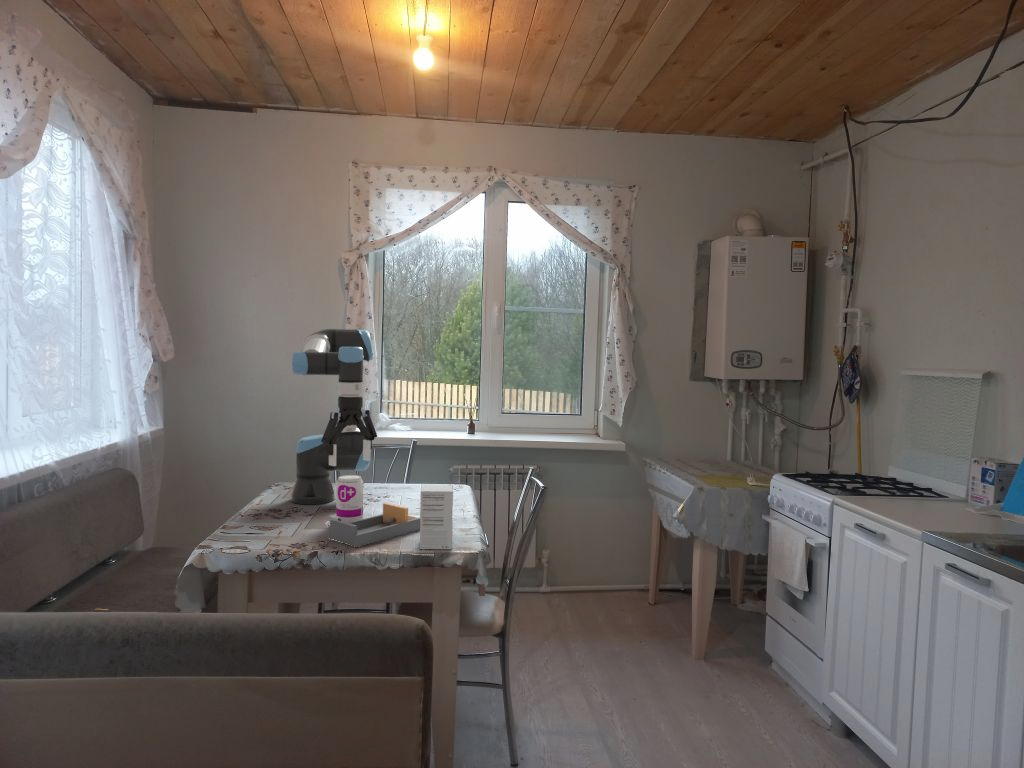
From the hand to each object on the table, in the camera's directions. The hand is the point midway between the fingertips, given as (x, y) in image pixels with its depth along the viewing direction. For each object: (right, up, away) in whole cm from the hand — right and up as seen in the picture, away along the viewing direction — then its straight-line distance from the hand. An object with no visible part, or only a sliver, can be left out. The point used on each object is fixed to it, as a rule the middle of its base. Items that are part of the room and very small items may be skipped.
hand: (350, 462), depth 215 cm
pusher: (+14, -19, -5) cm, 24 cm away
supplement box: (+29, -22, -19) cm, 41 cm away
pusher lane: (+10, -20, -9) cm, 25 cm away
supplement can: (-1, -20, +1) cm, 20 cm away
